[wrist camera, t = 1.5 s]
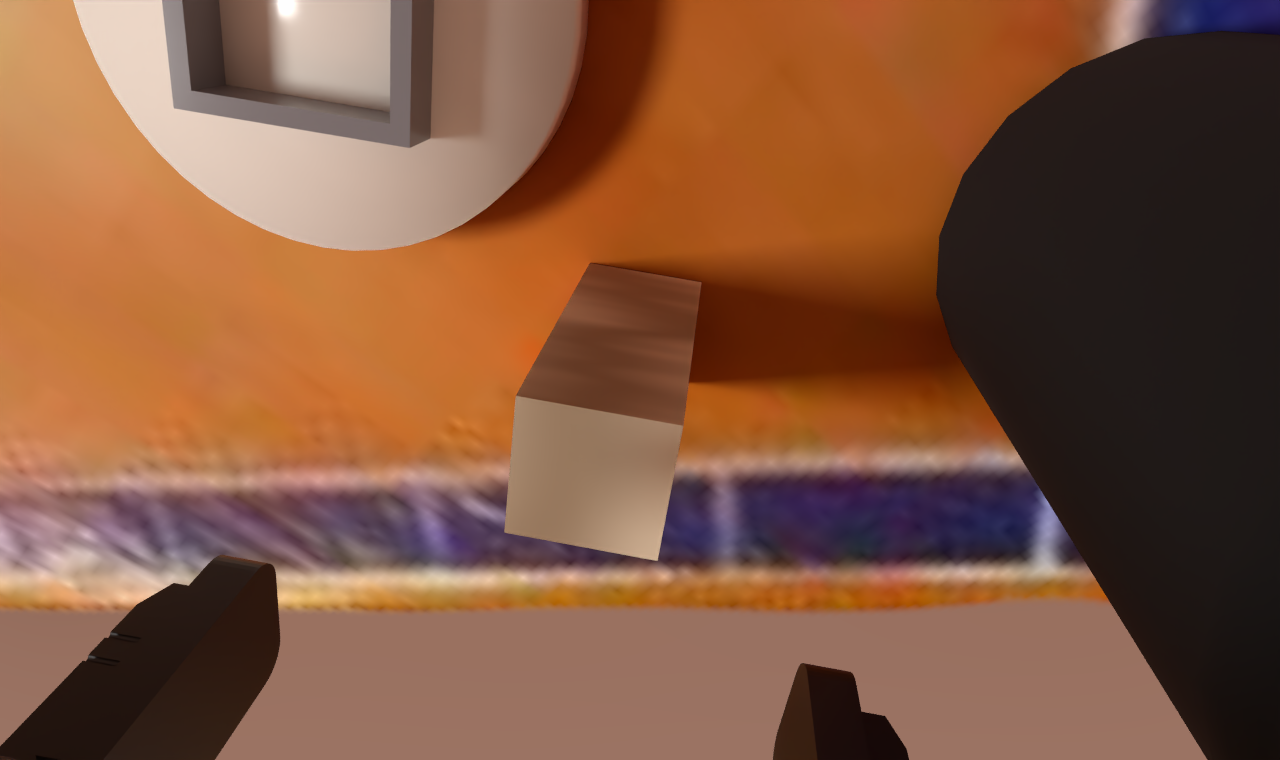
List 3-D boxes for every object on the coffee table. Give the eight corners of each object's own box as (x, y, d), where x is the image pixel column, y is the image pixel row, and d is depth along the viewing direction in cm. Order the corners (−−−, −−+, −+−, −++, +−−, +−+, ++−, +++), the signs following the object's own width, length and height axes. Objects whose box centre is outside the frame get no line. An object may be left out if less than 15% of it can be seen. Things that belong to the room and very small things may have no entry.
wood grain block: (701, 282, 24) (683, 425, 16) (682, 382, 26) (657, 560, 18) (590, 262, 24) (516, 395, 16) (577, 364, 26) (504, 532, 18)
